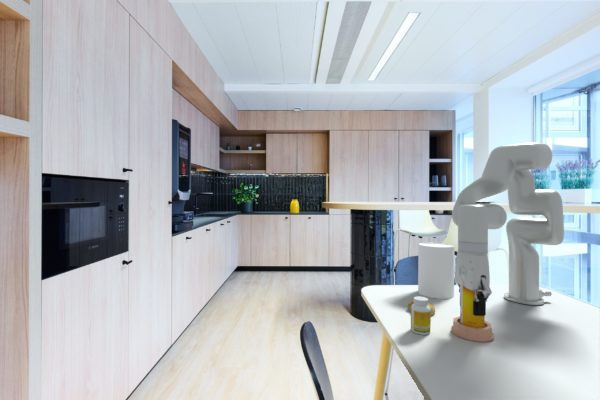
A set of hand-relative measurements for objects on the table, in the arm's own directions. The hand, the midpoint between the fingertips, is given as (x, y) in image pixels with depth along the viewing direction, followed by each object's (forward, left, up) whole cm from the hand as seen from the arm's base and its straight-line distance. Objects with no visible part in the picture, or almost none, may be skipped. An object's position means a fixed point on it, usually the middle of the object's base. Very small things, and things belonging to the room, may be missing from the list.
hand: (472, 310), depth 90 cm
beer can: (0, 0, -5) cm, 5 cm away
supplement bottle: (+14, -2, -7) cm, 16 cm away
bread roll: (+7, -18, -7) cm, 21 cm away
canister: (-8, -39, -7) cm, 40 cm away
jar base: (0, 0, -7) cm, 7 cm away
